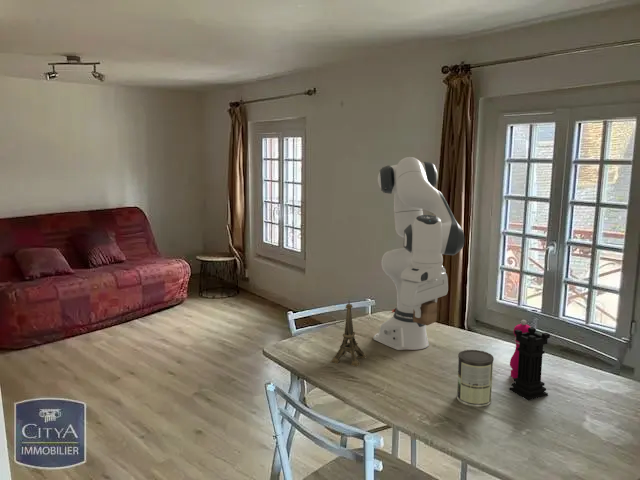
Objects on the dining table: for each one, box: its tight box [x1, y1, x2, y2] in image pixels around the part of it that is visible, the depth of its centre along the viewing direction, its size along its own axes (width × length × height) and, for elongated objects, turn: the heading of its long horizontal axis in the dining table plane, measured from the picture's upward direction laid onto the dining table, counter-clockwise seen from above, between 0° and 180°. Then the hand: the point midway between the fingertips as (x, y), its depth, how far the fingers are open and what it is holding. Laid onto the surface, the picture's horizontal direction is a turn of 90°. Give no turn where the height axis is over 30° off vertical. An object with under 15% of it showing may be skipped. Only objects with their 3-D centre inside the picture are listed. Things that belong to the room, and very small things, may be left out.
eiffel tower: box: [330, 301, 368, 367], centre depth 191 cm, size 11×11×25 cm
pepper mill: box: [509, 319, 531, 380], centre depth 175 cm, size 7×7×20 cm
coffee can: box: [456, 349, 495, 408], centre depth 159 cm, size 10×10×14 cm
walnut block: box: [413, 301, 438, 326], centre depth 157 cm, size 5×5×6 cm
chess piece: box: [508, 326, 551, 402], centre depth 163 cm, size 8×8×20 cm
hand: (424, 314), depth 158 cm, fingers closed on walnut block, 5 cm apart
